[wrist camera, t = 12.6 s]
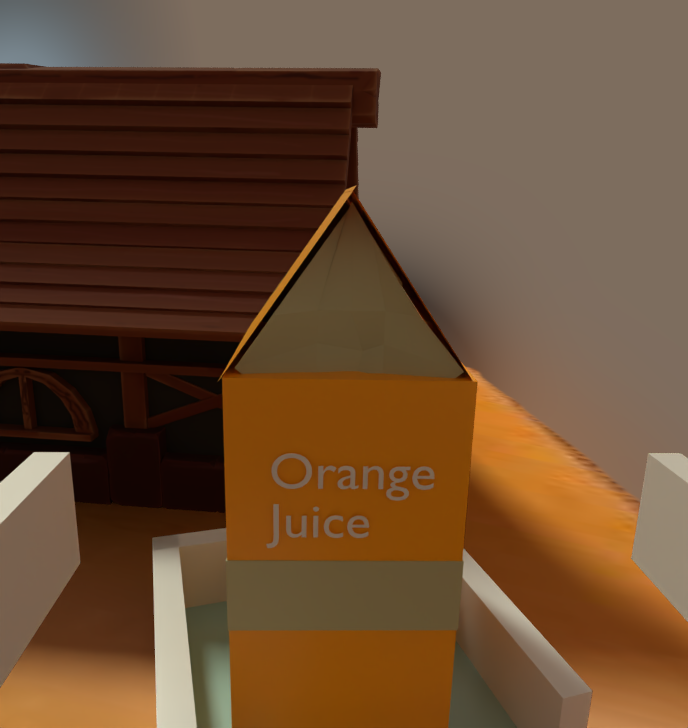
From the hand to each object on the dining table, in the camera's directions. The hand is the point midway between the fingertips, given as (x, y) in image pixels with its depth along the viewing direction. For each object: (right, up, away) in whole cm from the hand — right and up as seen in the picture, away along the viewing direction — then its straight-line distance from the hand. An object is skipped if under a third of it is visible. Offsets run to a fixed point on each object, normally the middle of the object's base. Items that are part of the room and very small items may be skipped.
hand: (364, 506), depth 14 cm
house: (-16, -4, +37) cm, 40 cm away
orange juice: (-1, -10, +12) cm, 16 cm away
